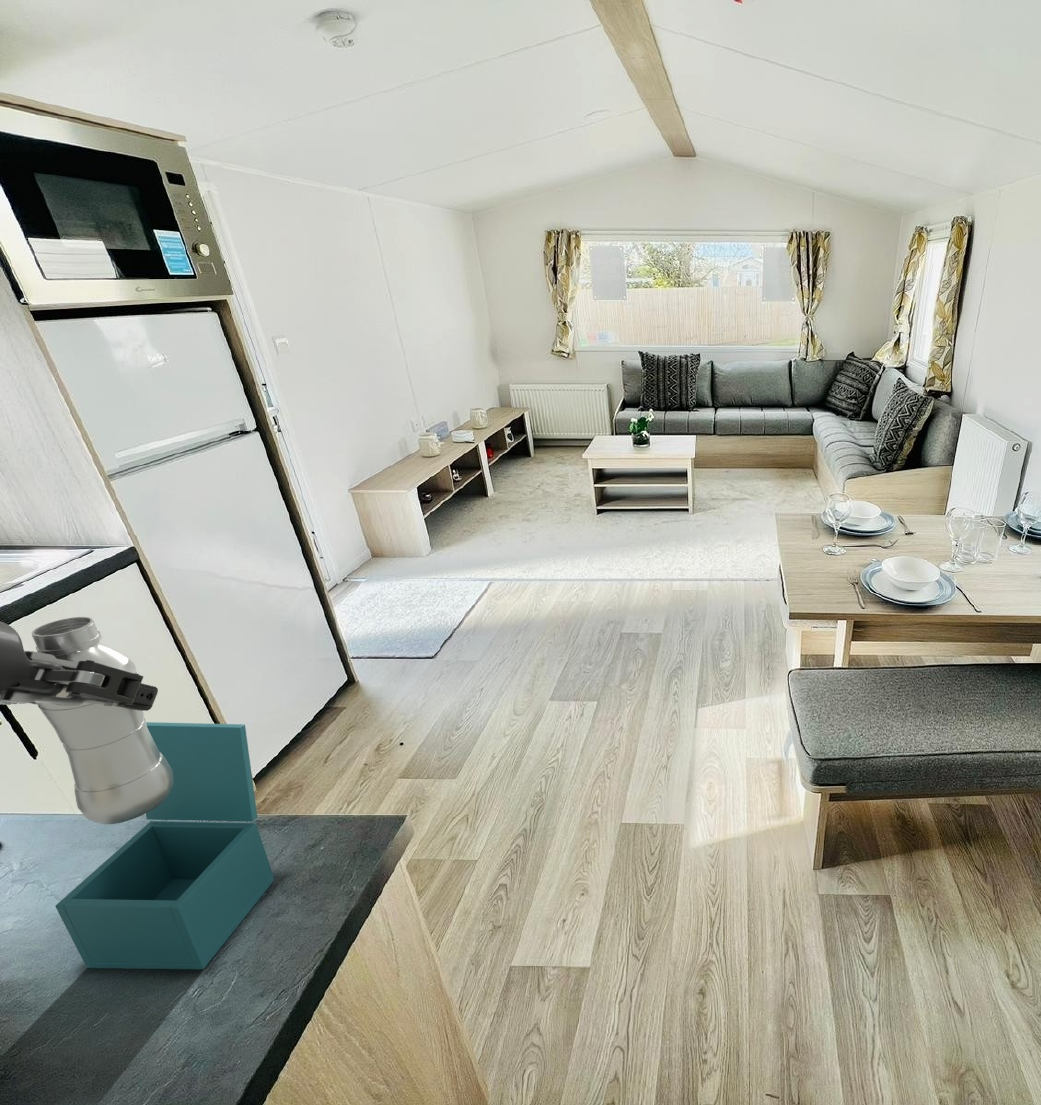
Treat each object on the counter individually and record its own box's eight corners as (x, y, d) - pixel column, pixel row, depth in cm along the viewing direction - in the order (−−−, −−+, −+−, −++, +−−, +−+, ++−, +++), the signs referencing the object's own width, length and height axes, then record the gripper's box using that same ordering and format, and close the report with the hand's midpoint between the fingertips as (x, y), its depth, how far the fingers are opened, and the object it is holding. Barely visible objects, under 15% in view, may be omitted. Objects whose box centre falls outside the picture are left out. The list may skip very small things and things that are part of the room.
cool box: (203, 969, 63) (177, 907, 59) (86, 968, 62) (54, 905, 59) (274, 880, 72) (256, 822, 69) (174, 878, 72) (150, 820, 69)
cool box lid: (239, 727, 66) (245, 724, 67) (129, 725, 66) (136, 721, 67) (252, 821, 69) (257, 817, 69) (146, 819, 68) (152, 815, 69)
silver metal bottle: (86, 807, 60) (6, 625, 53) (177, 774, 65) (115, 602, 57) (86, 846, 56) (0, 654, 49) (184, 808, 60) (118, 627, 53)
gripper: (30, 604, 44) (205, 661, 59) (-179, 598, 44) (52, 657, 59) (-25, 711, 41) (175, 742, 56) (-249, 706, 41) (13, 738, 56)
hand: (111, 698), depth 57 cm, fingers closed on silver metal bottle, 6 cm apart
